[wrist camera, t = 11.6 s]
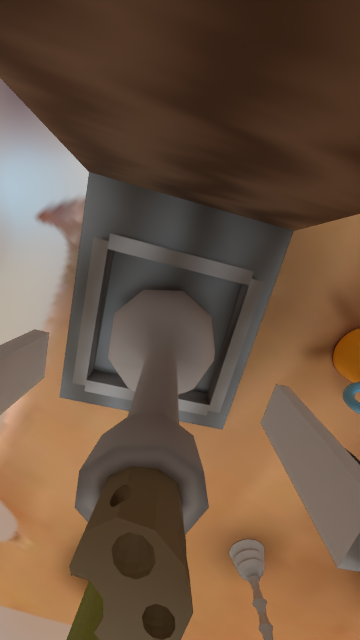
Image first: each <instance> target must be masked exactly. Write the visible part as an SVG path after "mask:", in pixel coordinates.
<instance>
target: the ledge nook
mask: <svg viewBox="0 0 360 640" xmlns="http://www.w3.org/2000/svg"><path fill="white" fill-rule="evenodd" d="M0 78H1V79H2V80H3V81H4V82H5V83H6V84H7V85H8V86H9V88H10V89H11V90H12V91H13V92H14V93H15V94H16V95H17V96H18V97H19V98H20V99H21V100H22V101H23V102H24V103H25V105H26V106H27V107H28V108H29V109H30V110H31V111H32V112H33V113H34V114H35V115H36V116H37V117H38V118H39V119H40V120H41V121H42V122H43V124H44V125H45V126H46V127H47V128H48V129H49V130H50V131H51V132H52V133H53V134H54V135H55V136H56V137H57V138H58V139H59V141H60V142H61V143H62V144H63V145H64V146H65V147H66V148H67V149H68V150H69V151H70V152H71V153H72V154H73V155H74V156H75V157H76V159H78V161H79V162H80V163H81V164H82V165H83V166H84V167H85V168H86V169H87V170H88V171H89V178H88V186H87V193H86V200H85V208H84V216H83V223H82V231H81V238H80V246H79V254H78V261H77V269H76V276H75V284H74V292H73V299H72V307H71V314H70V322H69V330H68V337H67V345H66V352H65V360H64V368H63V375H62V383H61V390H60V398H65V399H70V400H75V401H80V402H86V403H91V404H96V405H101V406H106V407H111V408H116V409H121V410H126V411H130V407H131V404H132V401H133V397H134V394H135V391H132V390H131V389H129V388H128V387H127V386H126V384H125V383H124V381H123V380H122V378H121V377H120V375H119V374H118V372H117V371H116V369H115V368H114V366H113V365H112V363H111V362H110V360H109V359H108V354H109V346H110V340H111V333H112V326H113V319H114V313H115V312H117V311H118V310H119V309H120V308H122V307H123V306H124V305H125V304H127V303H128V302H129V301H130V300H132V299H133V298H134V297H135V296H137V295H138V294H139V293H140V292H142V291H143V290H170V291H184V292H185V293H186V294H187V295H188V296H190V297H191V298H192V299H193V300H194V301H195V302H196V303H197V304H198V305H199V306H201V307H202V308H203V309H204V310H205V311H206V312H207V313H208V314H209V315H210V316H212V326H213V336H214V345H215V356H214V361H213V363H212V364H211V365H210V367H209V368H208V370H207V371H206V372H205V374H204V375H203V377H202V378H201V379H200V381H199V382H198V384H197V385H196V386H195V388H194V389H192V390H190V391H188V392H185V393H181V394H178V404H179V421H182V422H187V423H192V424H197V425H202V426H207V427H212V428H217V429H223V427H224V424H225V421H226V418H227V416H228V413H229V410H230V407H231V404H232V402H233V399H234V396H235V393H236V391H237V388H238V385H239V382H240V379H241V377H242V374H243V371H244V368H245V365H246V363H247V360H248V357H249V354H250V351H251V349H252V346H253V343H254V340H255V337H256V335H257V332H258V329H259V326H260V323H261V321H262V318H263V315H264V312H265V309H266V307H267V304H268V301H269V298H270V295H271V293H272V290H273V287H274V284H275V281H276V279H277V276H278V273H279V270H280V267H281V265H282V262H283V259H284V256H285V253H286V251H287V248H288V245H289V242H290V240H291V237H292V234H293V231H295V230H299V229H303V228H307V227H310V226H314V225H318V224H322V223H326V222H330V221H333V220H337V219H341V218H345V217H349V216H353V215H356V214H360V0H0Z"/></svg>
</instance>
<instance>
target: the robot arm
mask: <svg viewBox="0 0 360 640" xmlns="http://www.w3.org/2000/svg"><path fill="white" fill-rule="evenodd" d="M48 338H49V333H48V332H44V331H39V330H32V331H30V332H28V333H26V334H24V335H22V336H19V337H17V338H15V339H13V340H11V341H9V342H6V343H4V344H2V345H0V415H1V414H2V413H3V412H4V411H5V410H7V409H8V408H9V407H10V406H11V405H12V404H14V403H15V402H16V401H17V400H18V399H19V398H21V397H22V396H23V395H24V394H25V393H27V392H28V391H29V390H30V389H31V388H32V387H34V386H35V385H36V384H37V383H38V382H39V381H41V380H42V379H43V378H44V374H45V365H46V356H47V347H48ZM261 425H262V427H263V429H264V431H265V432H266V434H267V436H268V438H269V440H270V442H271V444H272V446H273V448H274V449H275V451H276V453H277V455H278V457H279V459H280V461H281V463H282V464H283V466H284V468H285V470H286V472H287V474H288V476H289V478H290V480H291V481H292V483H293V485H294V487H295V489H296V491H297V493H298V495H299V497H300V498H301V500H302V502H303V504H304V506H305V508H306V510H307V512H308V513H309V515H310V517H311V519H312V521H313V523H314V525H315V527H316V529H317V530H318V532H319V534H320V536H321V538H322V540H323V542H324V544H325V545H326V547H327V549H328V551H329V553H330V555H331V557H332V559H333V561H334V562H335V564H336V566H337V568H339V569H346V570H352V571H358V572H359V571H360V461H359V460H358V459H357V458H356V457H355V456H354V455H353V454H351V453H350V452H349V451H348V450H346V449H345V448H344V447H343V446H342V445H341V444H340V443H339V442H338V441H337V439H336V438H335V437H334V436H333V435H332V434H331V433H330V432H329V431H328V430H327V429H326V427H325V426H324V425H323V424H322V423H321V422H320V421H319V420H318V419H317V418H316V417H315V415H314V414H313V413H312V412H311V411H310V410H309V409H308V408H307V407H306V406H305V405H304V403H303V402H302V401H301V400H300V399H299V398H298V397H297V396H296V395H295V394H294V393H293V391H292V390H291V389H290V388H289V387H286V386H282V385H278V384H276V386H275V388H274V391H273V393H272V396H271V398H270V401H269V403H268V406H267V408H266V411H265V413H264V416H263V418H262V421H261Z"/></svg>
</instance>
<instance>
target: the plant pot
mask: <svg viewBox="0 0 360 640" xmlns="http://www.w3.org/2000/svg"><path fill="white" fill-rule="evenodd" d="M102 613H103V598H102V596H101V595H100V594H99V592H98V591H97V590H96V588H95V587H94V585H93V584H92V583H91V581H89V582H88V585H87V588H86V590H85V593H84V596H83V598H82V601H81V603H80V606H79V609H78V611H77V614H76V616H75V619H74V622H73V624H72V627H71V630H70V632H69V635H68V637H67V640H99V639H98V637H97V636H96V635H95V633H94V630H95V629H96V627H97V625H98V623H99V622H100V619H101V616H102Z"/></svg>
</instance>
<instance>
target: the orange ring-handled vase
mask: <svg viewBox="0 0 360 640" xmlns="http://www.w3.org/2000/svg"><path fill="white" fill-rule="evenodd" d="M333 363H334V366H335V368H336V369H337V371H338V372H339V373H340V374H341V375H342V376H344V377H345V378H347V379H348V380H350V381H351V382H352V384H350V385H348V386H347V387H346V388H345V389H344V391H343V399H344V401H345V403H346V404H347V405H348V406H349V407H350V408H351V409H352V410H354V411H355V412H357V413H359V414H360V403H359V402H358V401H357V400H356V399H355V398H354V395H355V394H356V393H357V392H360V328H359V329H355V330H353V331H351V332H349V333H348V334H346V335H345V336H344V337H343V338H342V339H341V340H340V341H339V342H338V344H337V346H336V347H335V350H334V354H333Z"/></svg>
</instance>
